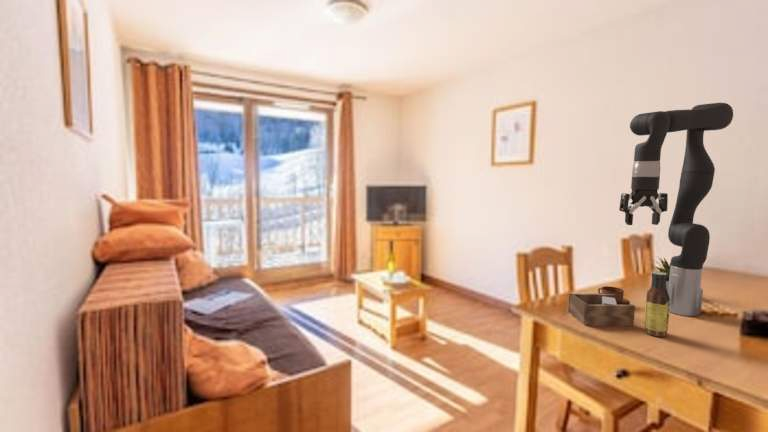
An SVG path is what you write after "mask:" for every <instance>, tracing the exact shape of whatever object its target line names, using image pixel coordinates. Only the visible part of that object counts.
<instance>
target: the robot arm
mask: <svg viewBox="0 0 768 432" xmlns="http://www.w3.org/2000/svg"><path fill="white" fill-rule="evenodd" d="M733 119H734V109H733V107H732V106H731V104H729V103H726V102H714V103H712V102H711V103H703V104H697V105H694V106H693V107H692V108H691V109H674V110H666V111H665V110H664V111H662V110H660V111H651V112H644V113H640V114H637V115H635V116H634V117H632V119H631V121H630V124H629V129H630V130H631V132H632V133H633V134H634V135H635V136H648V138H647V139H646V141H643V142H640V143H638V144H636V145H635V147H634V155H633V156H634V157H633V165H632V171H631V184H630V185H631V186H630V187H631V188H630V189H631V192H630V193H626V192H625V193H621V195H620V200H619V201H620V202H619V203H620V204H619V209H618V210H619V212H622V213H625V214H624V215H625V218H624V222H625V224H626V225H627V226H633V223H634V222H633V221H634V214H633V213H634V212H635V211H636V210H637V209H638V208H640V207H641V208H642V207H648V208H650V209H651V211H652V214H651V215H652V216H651V225H653V226H657V225H659V224H660V222H661V214H662V213H664V212H667V211H668V203H669V202H668V195H669V194H668V193H666V192H659V193H658V191H659V189H660V180H661V179H660V178H661V155H662V148H663V145H664V142H665V139H666V137H667V134H668V133H674V132H675V133H677V132H681V131H686V139H685V141H686V142H685V151H684V158H683V164H682V167H681V172H680V179H679V186H678V192H677V196H676V203H675V205H674V209H673V213H672V217H671V221H670V222H669V223H670V224H669V227H668V233H667V235H668V237H667V238H668V241H669V242H670V243H671V244H672V245H674V246H677V247H681V251H680V252H681V253H680V254H679V255H675V256H672V257H671V259H670V262H671V265H670V264H669V265H670V276H669V286H668V295H669V298H670V306H669V313H673V314H676V315H680V316H684V317H686V316H687V317H695V316H698V315H699V316H700V315H701V313H702V303H703V294H704V289H703V288H701V286H702V277H703V276H702V275H703V266H704V263H705V262H706V260H707V258H708V251H709V246H710V238H711V235H710V231H709V229H708V228H707V226H705V225H703V224H700V223H694V217H695V213H696V210H697V208H698V206H699V205H700V203H702V201H703V200H704V199H705V198H706V196H707V195H708V194H709V193H710V191H711V189H712V187H713V182H714V178H715V172H716V168H715V165H714V162H713V160H712V158H711V157H710V155H709V153H708V152H707V149H706V148H705V145H704V134H705V131H719V130H723V129H727V127H728V126H730V125H731V123H732V121H733ZM630 200H631V201H630ZM657 200H658V202H657ZM629 201H630V202H629Z"/></svg>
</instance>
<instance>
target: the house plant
mask: <svg viewBox="0 0 768 432" xmlns="http://www.w3.org/2000/svg"><path fill="white" fill-rule="evenodd" d="M657 258H658V259H659V260H660V263H659V261H656V260H654V259H653V260H652V259H650V258H649V260H651V261H652V262H653V263H654V262H655V263H656V264H661V265H659V266H657V265H656V266H652V265H651V266H650V267H652V268H655V269H653V270H654V271H655V272H658V271H659V272H662V273H666V274H667V279H666V288H667V291H668V286H669V276H670V265H671V261H670V262H669V263H668V261H667V259H666V258H665V257H664V258H663V259H662V258H661V257H658V256H657ZM657 270H658V271H657Z"/></svg>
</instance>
